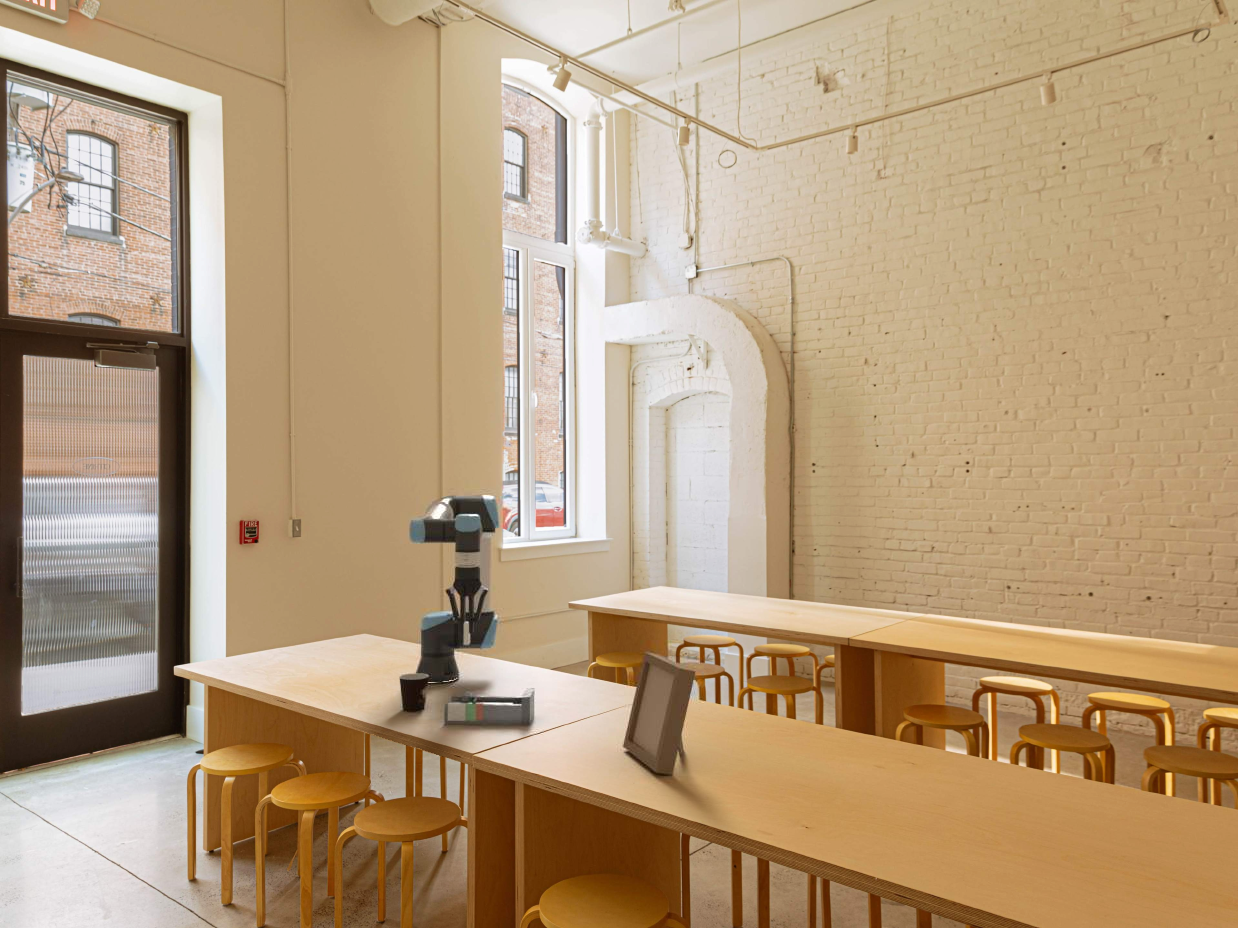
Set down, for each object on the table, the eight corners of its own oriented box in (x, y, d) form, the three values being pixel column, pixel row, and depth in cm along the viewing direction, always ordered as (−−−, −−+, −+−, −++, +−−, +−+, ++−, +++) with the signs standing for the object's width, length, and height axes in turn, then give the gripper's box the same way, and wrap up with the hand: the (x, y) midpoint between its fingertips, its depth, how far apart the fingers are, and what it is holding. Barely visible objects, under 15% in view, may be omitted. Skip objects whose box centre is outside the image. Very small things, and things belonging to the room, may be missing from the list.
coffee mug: (411, 714, 255) (411, 680, 256) (393, 709, 261) (393, 676, 261) (441, 706, 265) (442, 674, 265) (423, 702, 270) (423, 670, 270)
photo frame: (655, 776, 202) (657, 669, 203) (622, 750, 222) (624, 652, 223) (712, 770, 207) (714, 666, 208) (675, 745, 227) (676, 650, 228)
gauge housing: (452, 714, 256) (452, 687, 256) (534, 715, 256) (534, 688, 256) (444, 724, 245) (444, 696, 245) (529, 725, 244) (529, 697, 245)
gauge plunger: (465, 711, 254) (466, 690, 254) (513, 711, 253) (513, 691, 254) (459, 720, 244) (459, 698, 244) (508, 720, 244) (508, 699, 244)
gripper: (443, 566, 255) (442, 646, 255) (487, 567, 255) (486, 646, 255) (448, 563, 263) (447, 640, 263) (491, 564, 263) (490, 641, 263)
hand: (466, 643), depth 259 cm, fingers closed
